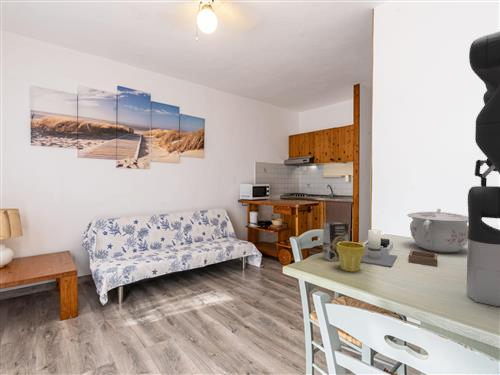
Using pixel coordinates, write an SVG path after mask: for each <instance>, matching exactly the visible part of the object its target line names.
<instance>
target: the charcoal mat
mask: <svg viewBox="0 0 500 375" xmlns="http://www.w3.org/2000/svg"><path fill="white" fill-rule="evenodd" d="M397 258H398V255H395V254H390V253H389V254H385V253H380V259H372V258H369V257H368V251H365V252H364V255H363V256H362V259H361V263H363V264H369V265H373V266H379V267H386V268H392V267H393V265H394V264H395V262H396V260H397ZM361 263H360V264H361Z"/></svg>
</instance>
